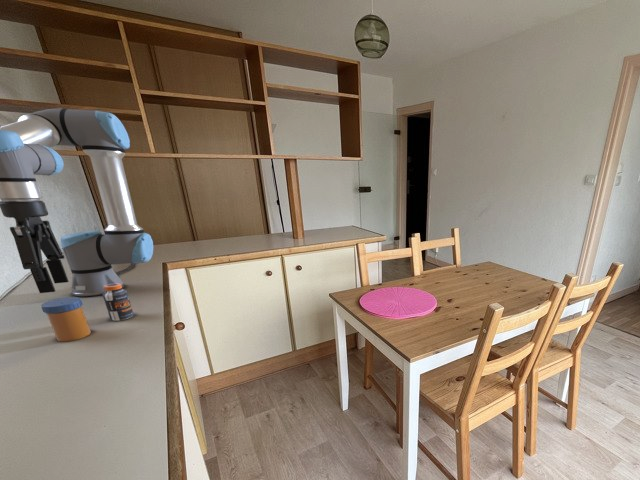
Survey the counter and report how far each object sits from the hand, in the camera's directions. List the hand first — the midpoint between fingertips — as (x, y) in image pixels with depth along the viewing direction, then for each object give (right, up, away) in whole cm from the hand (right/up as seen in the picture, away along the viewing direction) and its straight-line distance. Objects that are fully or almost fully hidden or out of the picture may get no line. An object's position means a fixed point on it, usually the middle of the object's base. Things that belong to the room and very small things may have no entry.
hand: (55, 287), depth 85 cm
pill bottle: (+3, -9, +18) cm, 20 cm away
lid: (0, -4, +2) cm, 5 cm away
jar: (0, -14, +5) cm, 15 cm away
